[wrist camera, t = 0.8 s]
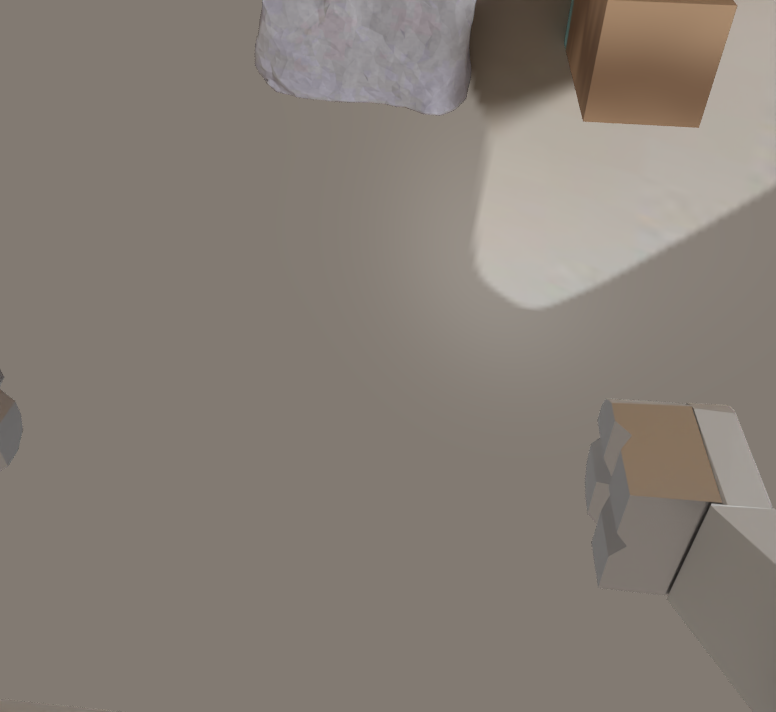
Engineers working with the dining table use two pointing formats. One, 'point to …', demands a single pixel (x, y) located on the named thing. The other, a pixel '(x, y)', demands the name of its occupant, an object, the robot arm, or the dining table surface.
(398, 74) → the stone block
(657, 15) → the walnut block
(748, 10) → the dining table surface
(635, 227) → the dining table surface
